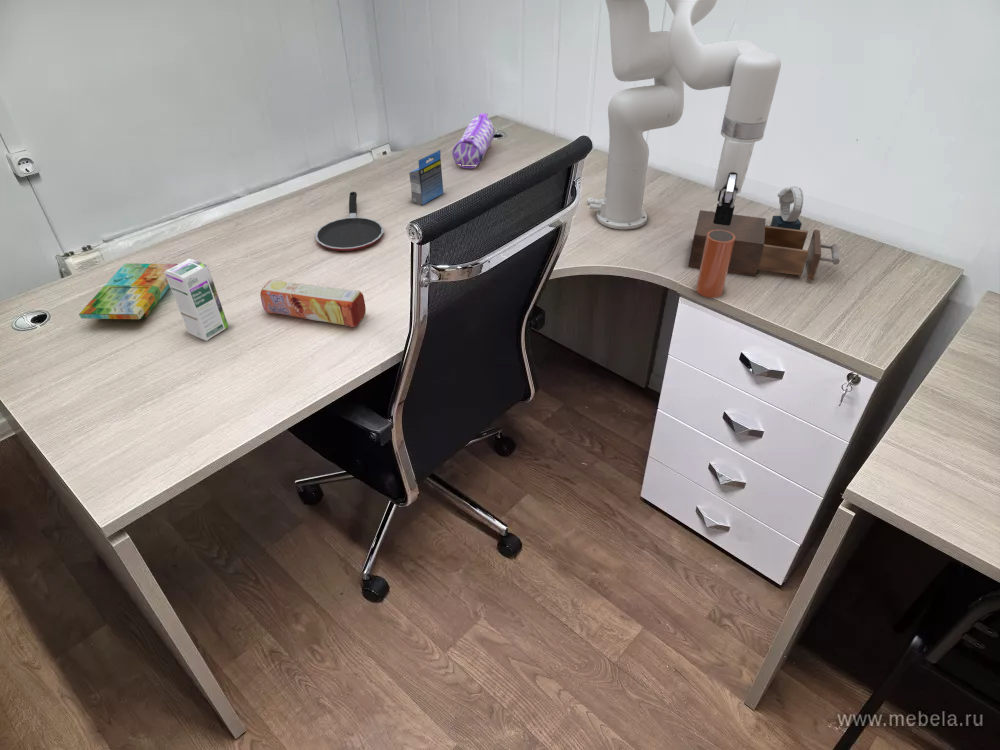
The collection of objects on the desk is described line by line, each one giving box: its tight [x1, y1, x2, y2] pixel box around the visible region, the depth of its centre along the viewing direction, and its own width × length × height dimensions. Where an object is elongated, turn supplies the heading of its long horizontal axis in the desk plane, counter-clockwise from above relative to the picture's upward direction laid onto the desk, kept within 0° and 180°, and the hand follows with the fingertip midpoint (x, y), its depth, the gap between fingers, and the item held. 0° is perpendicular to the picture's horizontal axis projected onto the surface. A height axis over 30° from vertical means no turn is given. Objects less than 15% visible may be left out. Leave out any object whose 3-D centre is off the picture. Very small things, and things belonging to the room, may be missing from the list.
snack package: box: [259, 279, 367, 328], centre depth 137 cm, size 21×7×7 cm, turn 73°
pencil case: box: [452, 112, 495, 170], centre depth 202 cm, size 22×9×10 cm, turn 171°
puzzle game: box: [78, 262, 179, 320], centre depth 142 cm, size 12×5×20 cm
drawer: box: [757, 225, 840, 281], centre depth 149 cm, size 18×11×6 cm, turn 72°
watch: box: [770, 185, 804, 230], centre depth 162 cm, size 6×8×11 cm
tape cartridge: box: [408, 149, 444, 206], centre depth 179 cm, size 9×4×12 cm, turn 144°
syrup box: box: [164, 258, 230, 342], centre depth 131 cm, size 6×6×14 cm
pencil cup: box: [695, 230, 735, 299], centre depth 141 cm, size 6×6×13 cm
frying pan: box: [314, 191, 384, 252], centre depth 169 cm, size 28×16×3 cm, turn 8°
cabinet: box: [687, 209, 767, 278], centre depth 153 cm, size 15×13×8 cm
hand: (723, 212), depth 134 cm, fingers open, 9 cm apart
